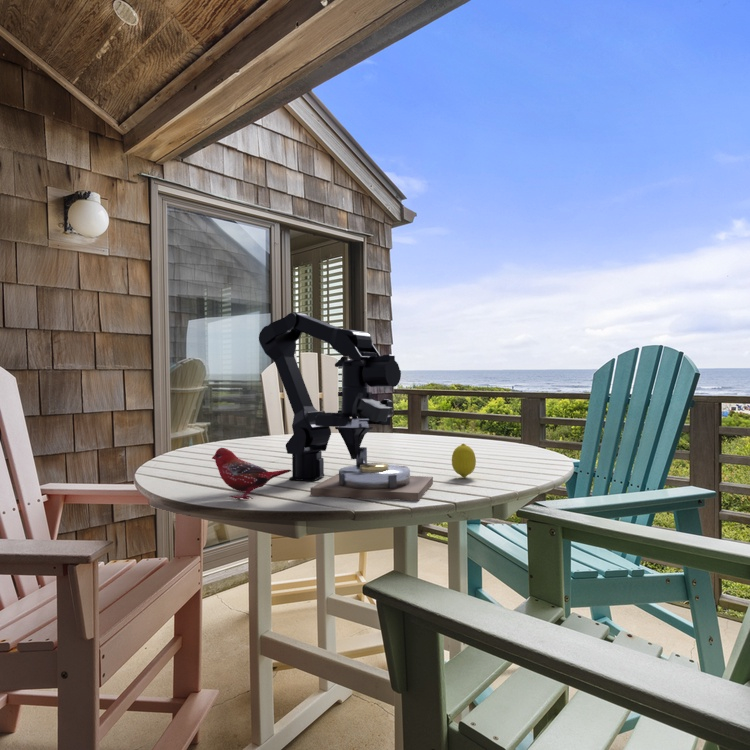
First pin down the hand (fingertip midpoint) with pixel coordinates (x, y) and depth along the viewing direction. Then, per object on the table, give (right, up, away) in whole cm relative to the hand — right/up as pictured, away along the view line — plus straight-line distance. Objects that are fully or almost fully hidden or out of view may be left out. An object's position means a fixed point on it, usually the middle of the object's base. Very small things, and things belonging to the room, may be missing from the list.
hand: (353, 459), depth 111 cm
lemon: (+25, -6, +8) cm, 27 cm away
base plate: (+5, -6, -4) cm, 8 cm away
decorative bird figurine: (-20, -6, -12) cm, 24 cm away
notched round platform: (+5, -4, -4) cm, 7 cm away
